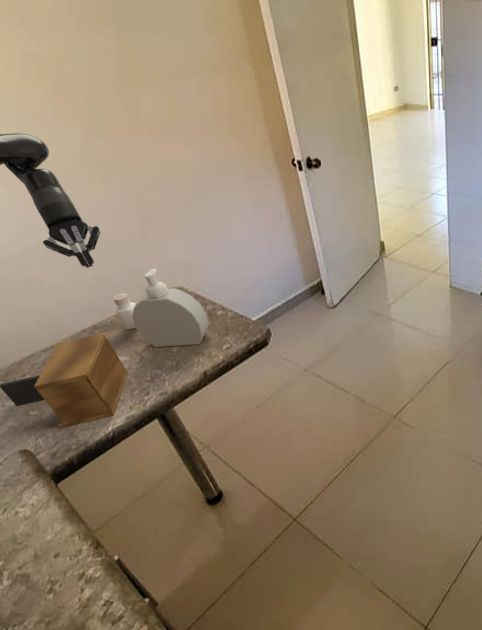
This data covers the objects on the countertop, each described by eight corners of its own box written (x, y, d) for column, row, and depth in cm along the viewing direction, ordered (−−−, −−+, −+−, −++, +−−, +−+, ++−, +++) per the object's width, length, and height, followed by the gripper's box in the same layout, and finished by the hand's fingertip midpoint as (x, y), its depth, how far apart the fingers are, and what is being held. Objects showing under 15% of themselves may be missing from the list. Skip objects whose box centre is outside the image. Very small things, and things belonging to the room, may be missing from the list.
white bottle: (141, 328, 118) (125, 299, 113) (125, 330, 118) (108, 301, 112) (145, 319, 121) (130, 291, 116) (129, 322, 121) (114, 293, 115)
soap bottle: (215, 331, 115) (188, 266, 104) (208, 344, 111) (179, 277, 99) (155, 335, 115) (121, 270, 104) (145, 348, 111) (109, 281, 99)
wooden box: (61, 428, 91) (27, 387, 84) (80, 383, 101) (52, 344, 94) (114, 415, 93) (86, 374, 86) (127, 372, 104) (103, 333, 97)
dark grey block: (10, 431, 89) (-19, 399, 83) (23, 407, 94) (-4, 376, 89) (63, 418, 91) (38, 386, 86) (73, 395, 96) (50, 364, 91)
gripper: (20, 209, 106) (55, 270, 106) (82, 194, 113) (115, 251, 113) (30, 223, 113) (63, 280, 113) (88, 208, 120) (119, 262, 120)
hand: (89, 265), depth 113 cm, fingers closed
